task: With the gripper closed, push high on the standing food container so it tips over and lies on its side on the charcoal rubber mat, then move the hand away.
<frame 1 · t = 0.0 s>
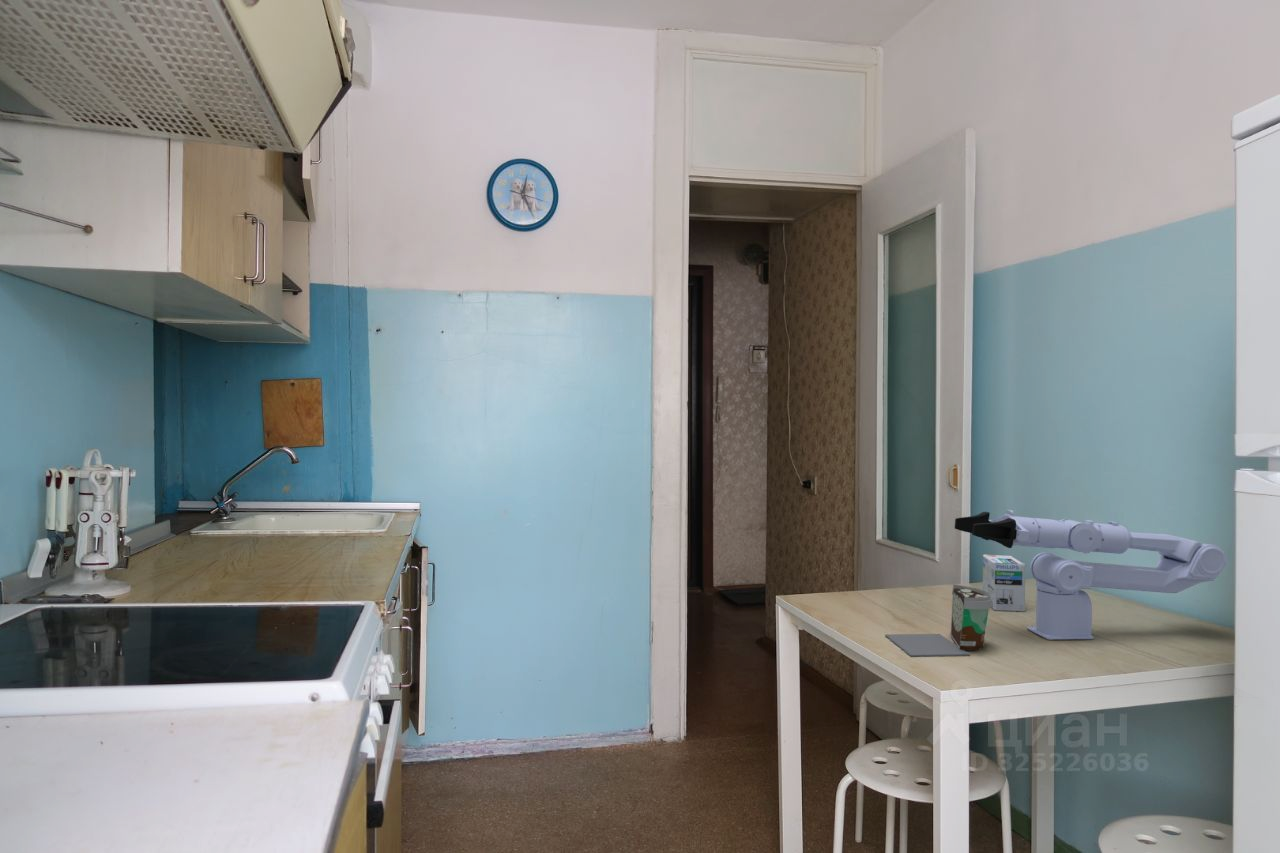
hand: (964, 526, 160), 22 cm above the table, tool horizontal, fingers open, 7 cm apart
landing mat: (925, 645, 154), on the table
light bulb box: (1002, 606, 184), on the table
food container: (971, 645, 154), on the table, touching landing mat
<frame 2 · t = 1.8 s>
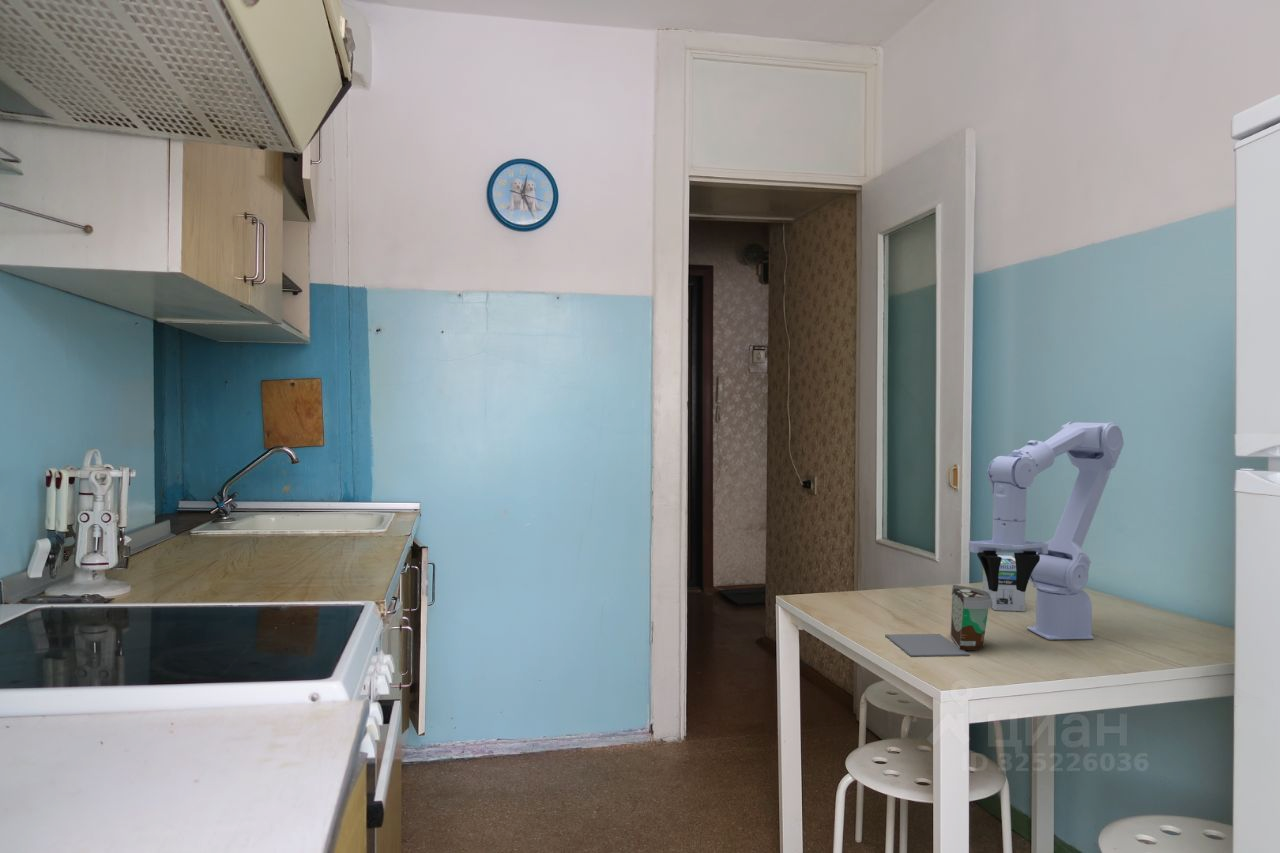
hand: (1007, 590, 154), 10 cm above the table, tool pointing down, fingers open, 5 cm apart
nothing on the table moved.
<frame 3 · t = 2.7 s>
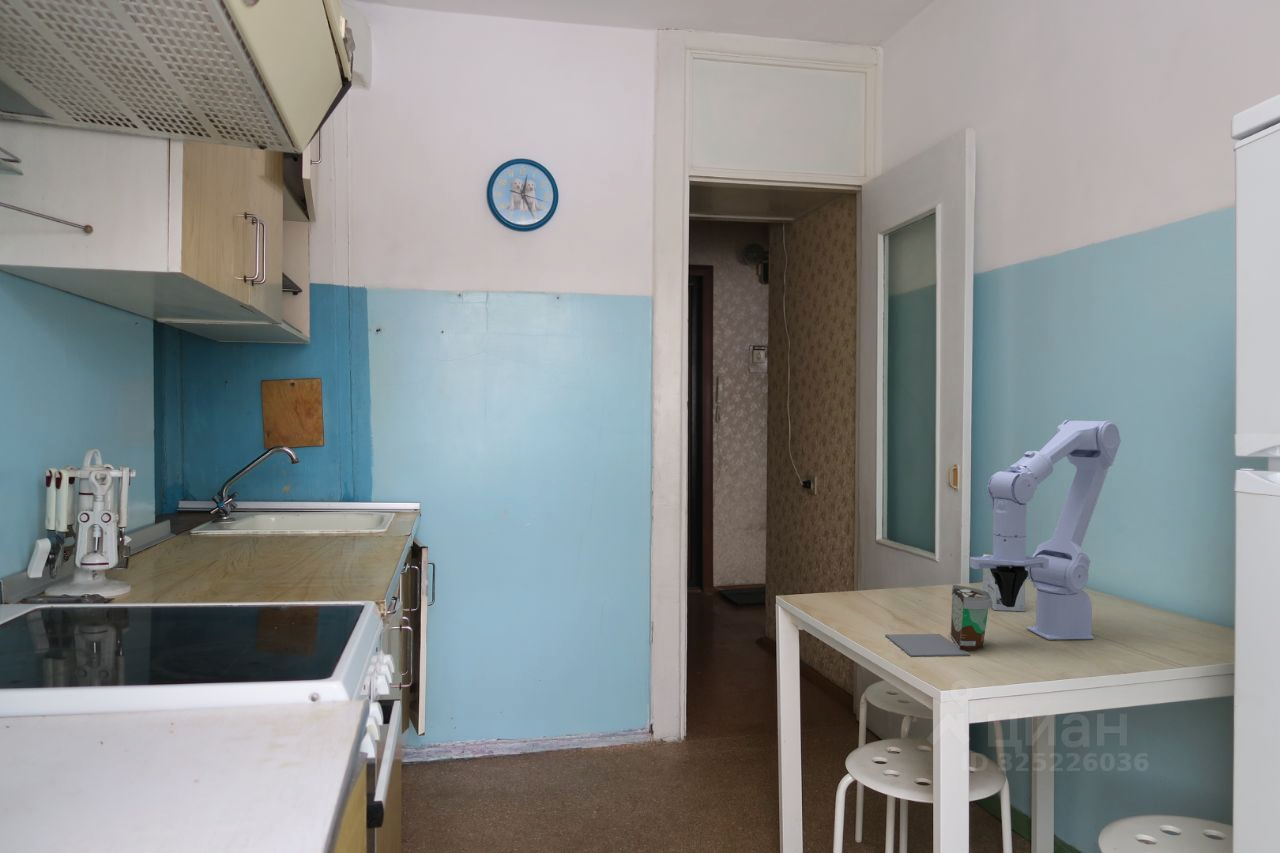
hand: (1008, 605, 154), 7 cm above the table, tool pointing down, fingers closed
nothing on the table moved.
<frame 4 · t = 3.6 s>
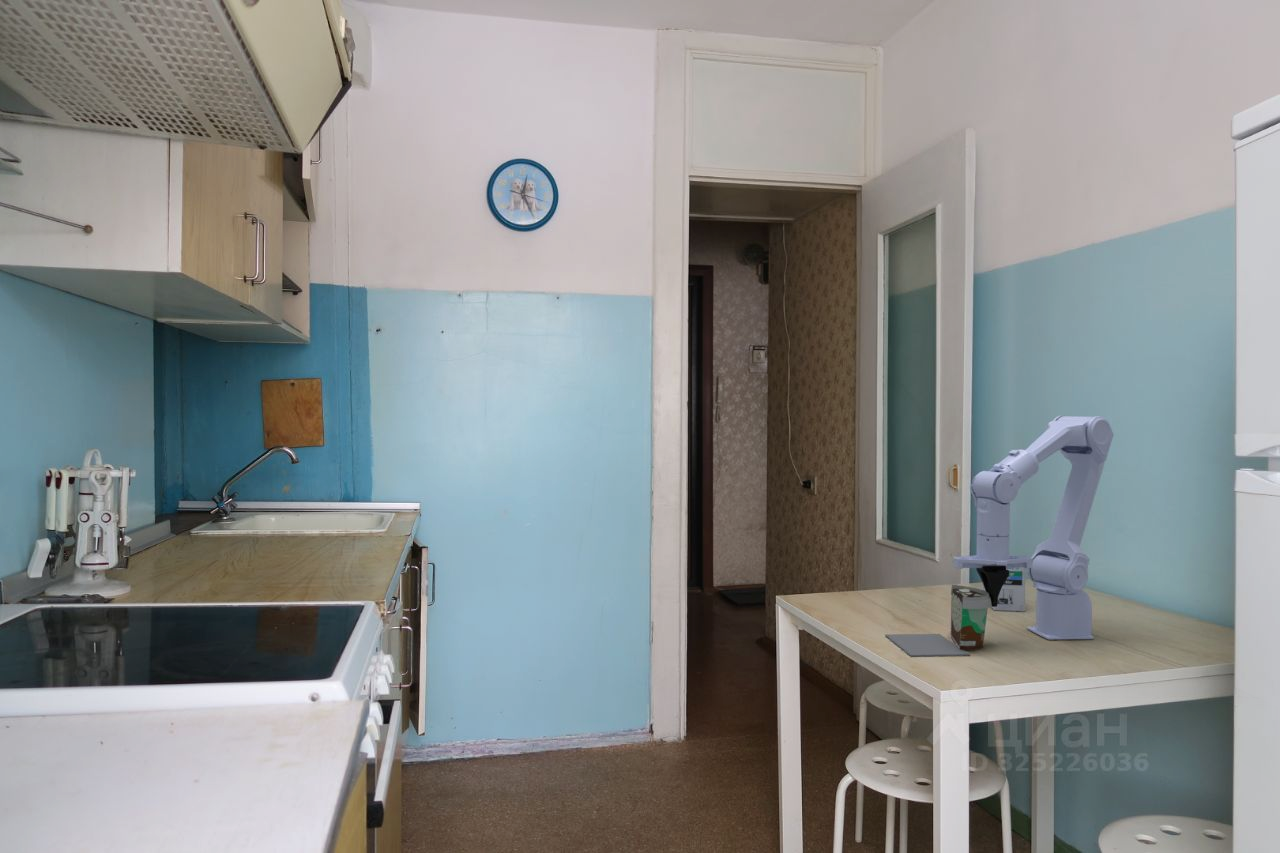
hand: (991, 605, 154), 8 cm above the table, tool pointing down, fingers closed, pressing on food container
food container: (971, 645, 154), on the table, touching gripper, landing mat
everything else where it was.
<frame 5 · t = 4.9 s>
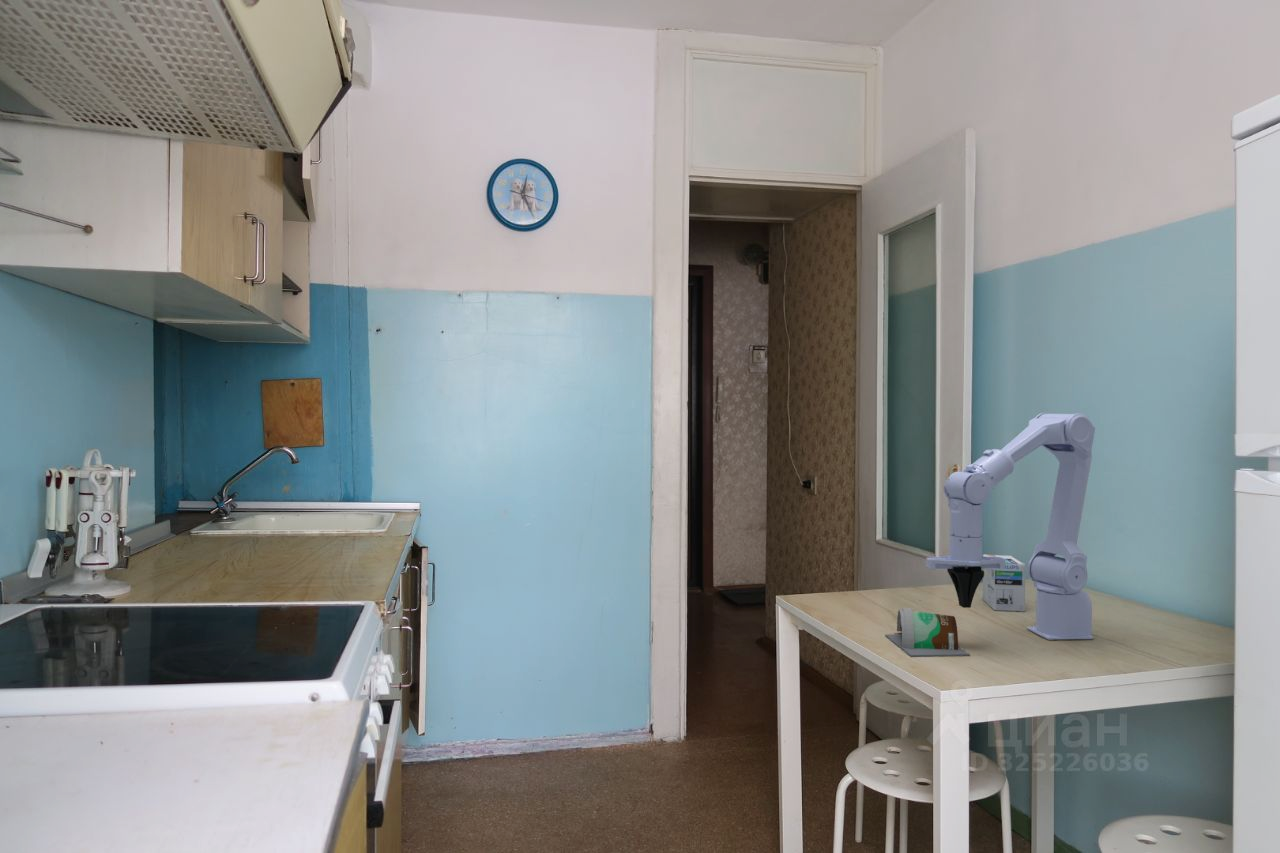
hand: (964, 606, 154), 7 cm above the table, tool pointing down, fingers closed
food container: (955, 626, 154), point 3 cm above the table, touching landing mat
everything else where it was.
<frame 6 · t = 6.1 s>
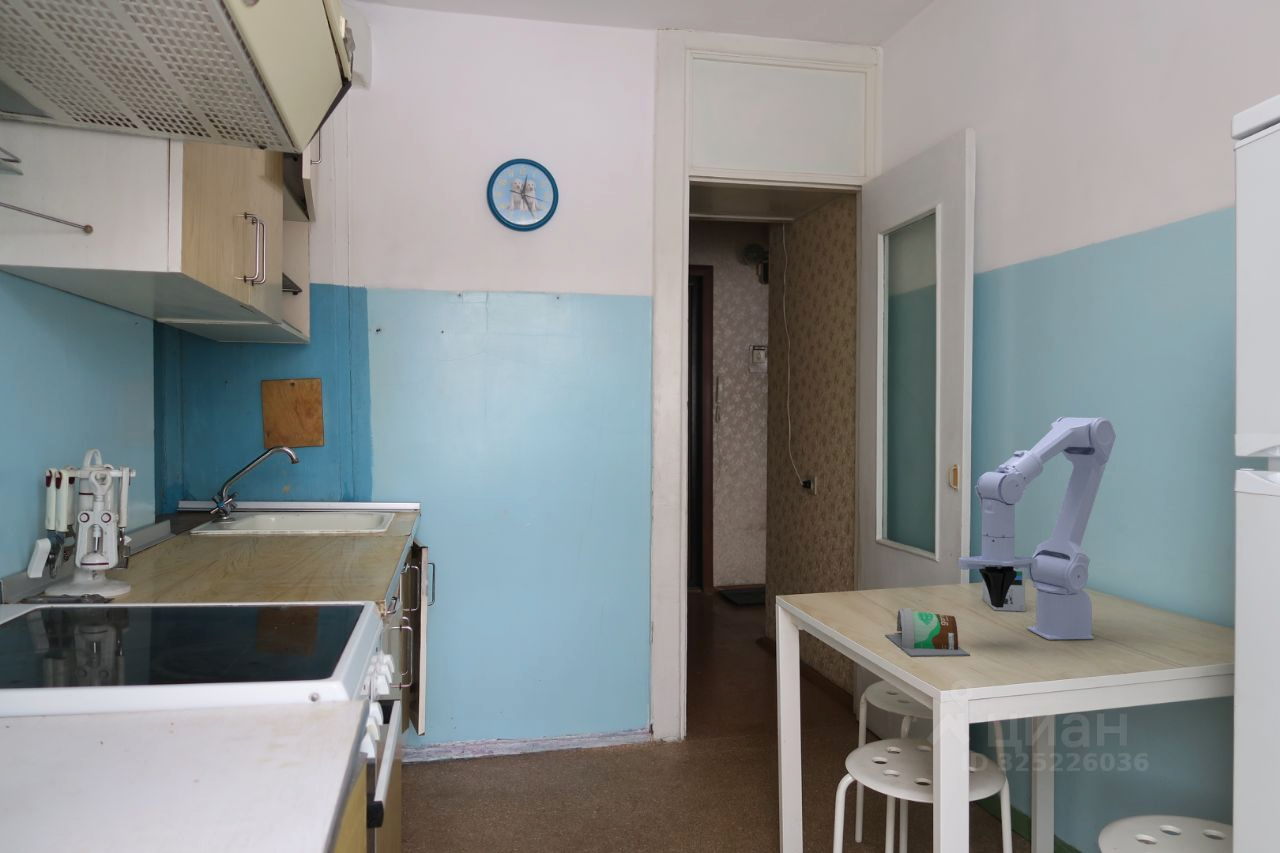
hand: (997, 606, 154), 7 cm above the table, tool pointing down, fingers closed
nothing on the table moved.
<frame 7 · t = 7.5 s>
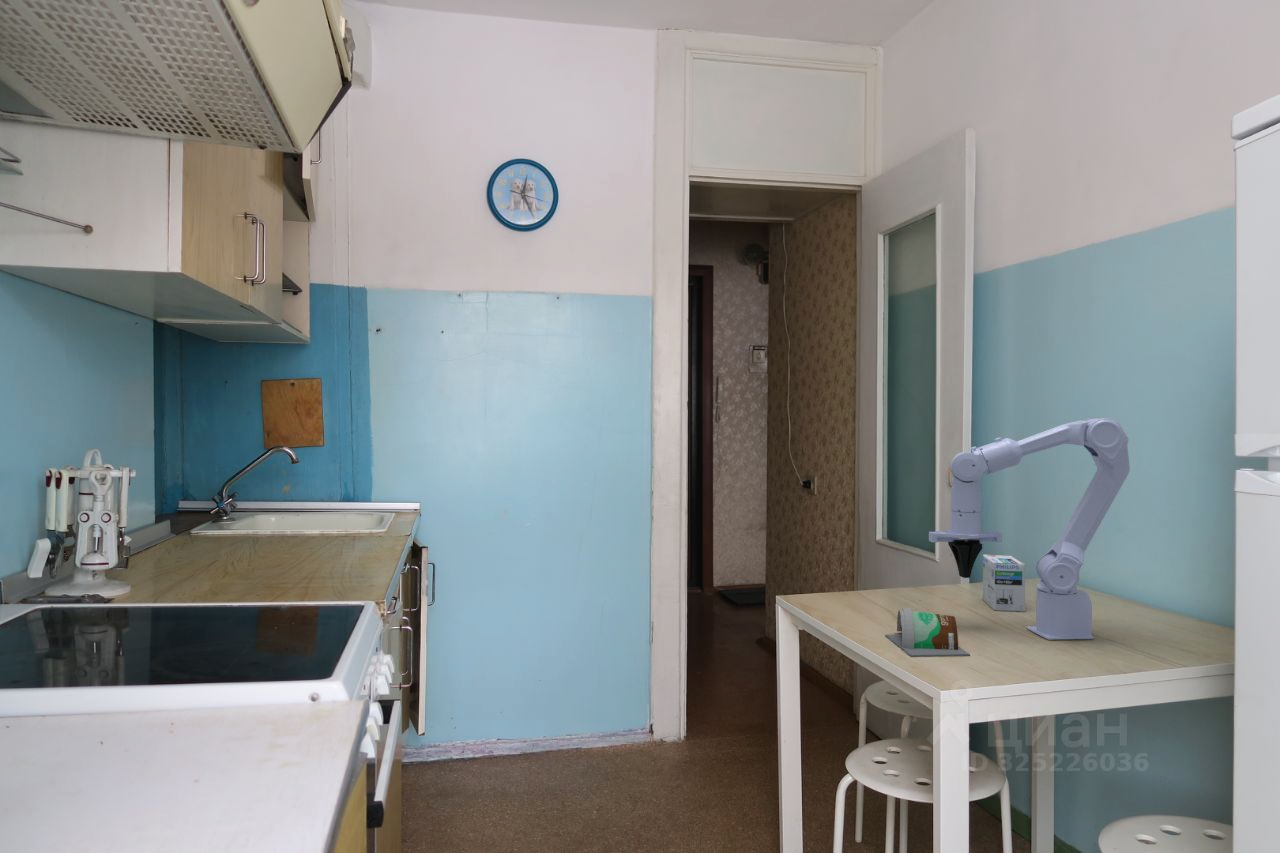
hand: (964, 576, 166), 10 cm above the table, tool pointing down, fingers closed
nothing on the table moved.
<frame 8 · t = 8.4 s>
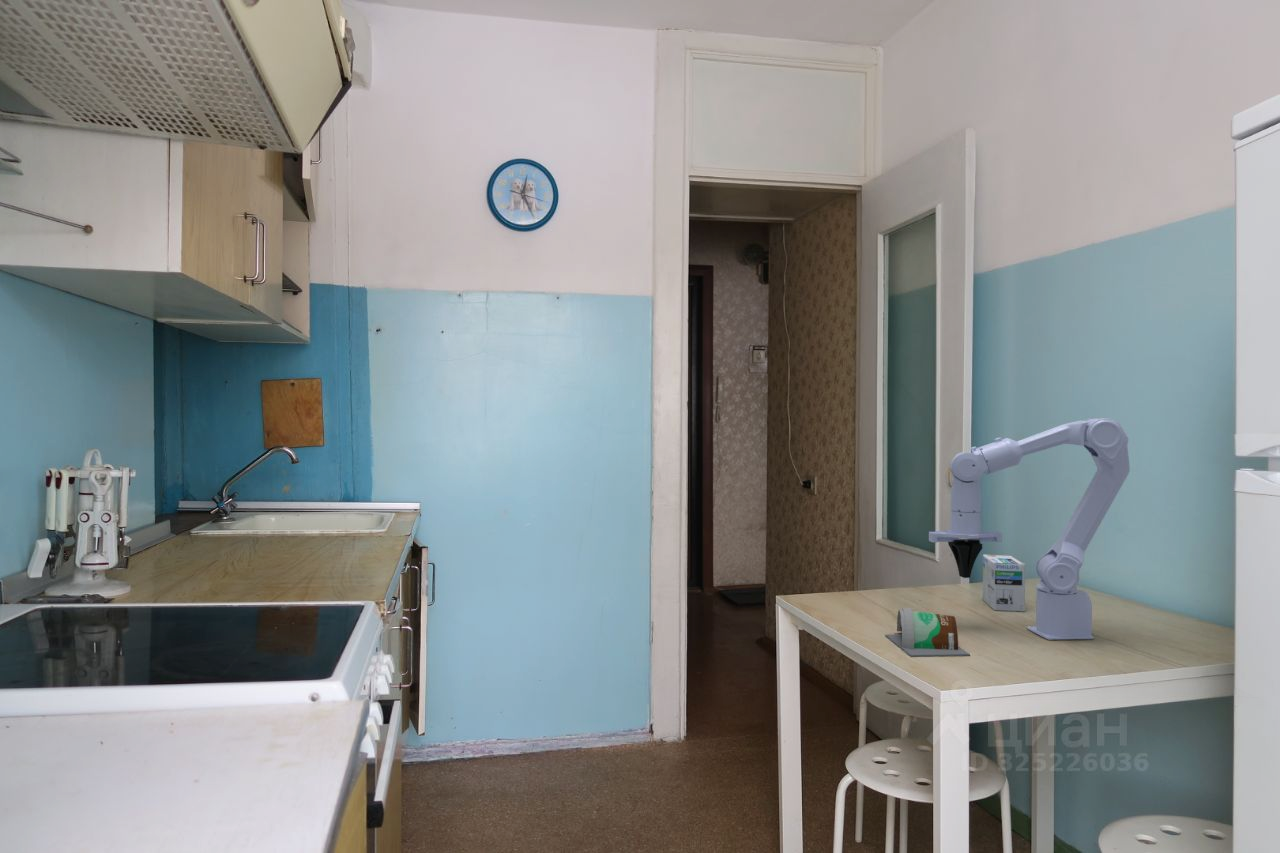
hand: (964, 576, 166), 10 cm above the table, tool pointing down, fingers closed
nothing on the table moved.
at the end: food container tilted 90°; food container touching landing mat; the gripper is holding nothing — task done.
